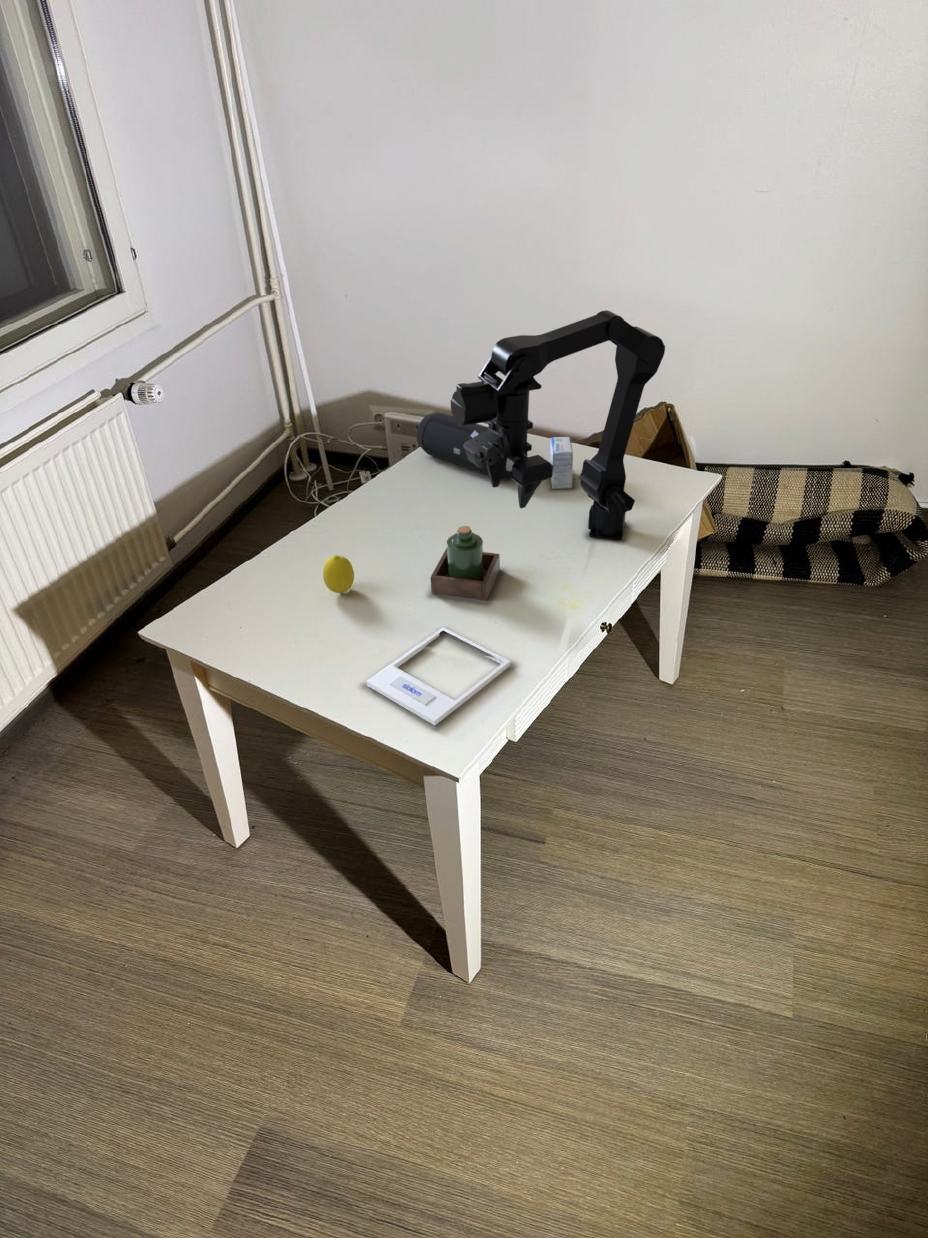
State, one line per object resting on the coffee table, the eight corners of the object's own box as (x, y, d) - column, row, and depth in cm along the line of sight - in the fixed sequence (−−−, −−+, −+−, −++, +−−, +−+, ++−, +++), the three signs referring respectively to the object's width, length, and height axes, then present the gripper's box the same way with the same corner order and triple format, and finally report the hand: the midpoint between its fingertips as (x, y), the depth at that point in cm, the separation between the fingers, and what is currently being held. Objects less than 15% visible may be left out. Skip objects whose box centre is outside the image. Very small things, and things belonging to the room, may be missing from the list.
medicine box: (572, 489, 188) (573, 452, 183) (551, 489, 188) (552, 452, 183) (569, 472, 194) (570, 436, 189) (549, 472, 195) (550, 436, 189)
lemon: (351, 603, 157) (346, 565, 152) (321, 600, 158) (315, 563, 153) (360, 585, 161) (355, 548, 156) (331, 583, 162) (326, 546, 157)
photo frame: (366, 680, 138) (442, 626, 148) (366, 685, 138) (443, 631, 149) (434, 720, 130) (510, 660, 140) (434, 725, 130) (510, 665, 141)
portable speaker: (415, 459, 202) (412, 418, 196) (443, 443, 208) (441, 404, 202) (502, 489, 189) (502, 447, 183) (529, 472, 195) (530, 431, 189)
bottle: (487, 573, 162) (486, 521, 155) (478, 593, 157) (477, 540, 150) (454, 569, 163) (451, 518, 157) (444, 588, 159) (441, 536, 152)
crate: (499, 571, 163) (499, 553, 161) (486, 602, 155) (485, 584, 153) (447, 565, 166) (446, 547, 163) (431, 595, 158) (430, 577, 155)
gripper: (444, 406, 153) (445, 486, 162) (500, 445, 140) (497, 530, 149) (498, 394, 157) (496, 473, 167) (557, 431, 144) (551, 514, 153)
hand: (508, 497), depth 159 cm, fingers open, 9 cm apart
